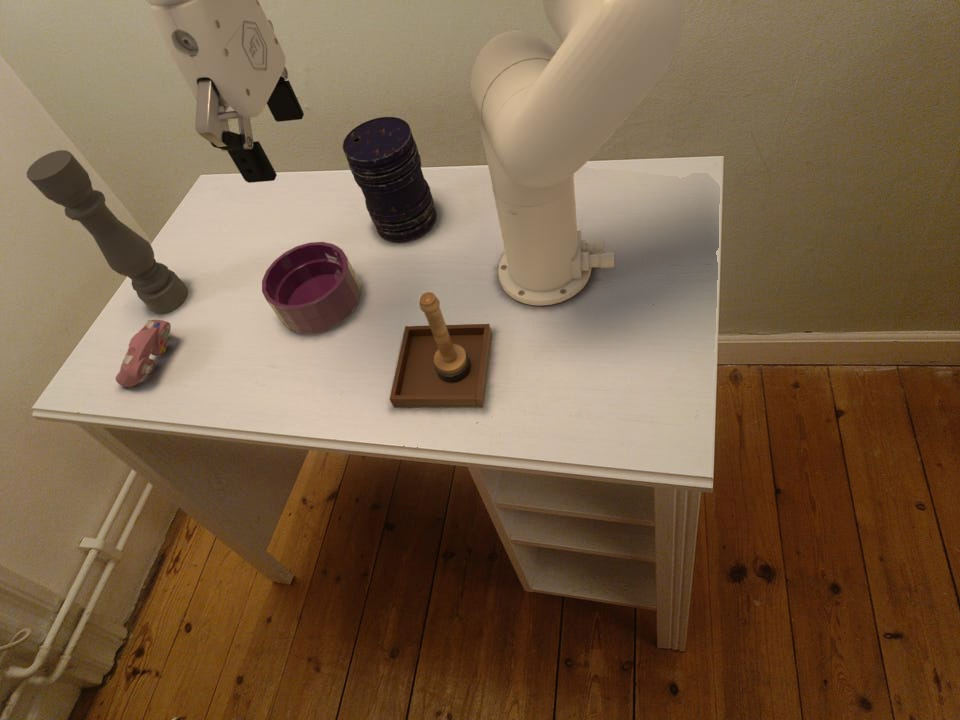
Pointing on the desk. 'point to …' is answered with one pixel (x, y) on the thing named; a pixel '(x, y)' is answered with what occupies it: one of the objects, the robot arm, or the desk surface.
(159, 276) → the candle holder
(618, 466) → the desk surface
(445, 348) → the brush
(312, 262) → the bowl
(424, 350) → the tray
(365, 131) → the storage jar
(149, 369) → the pink toy
